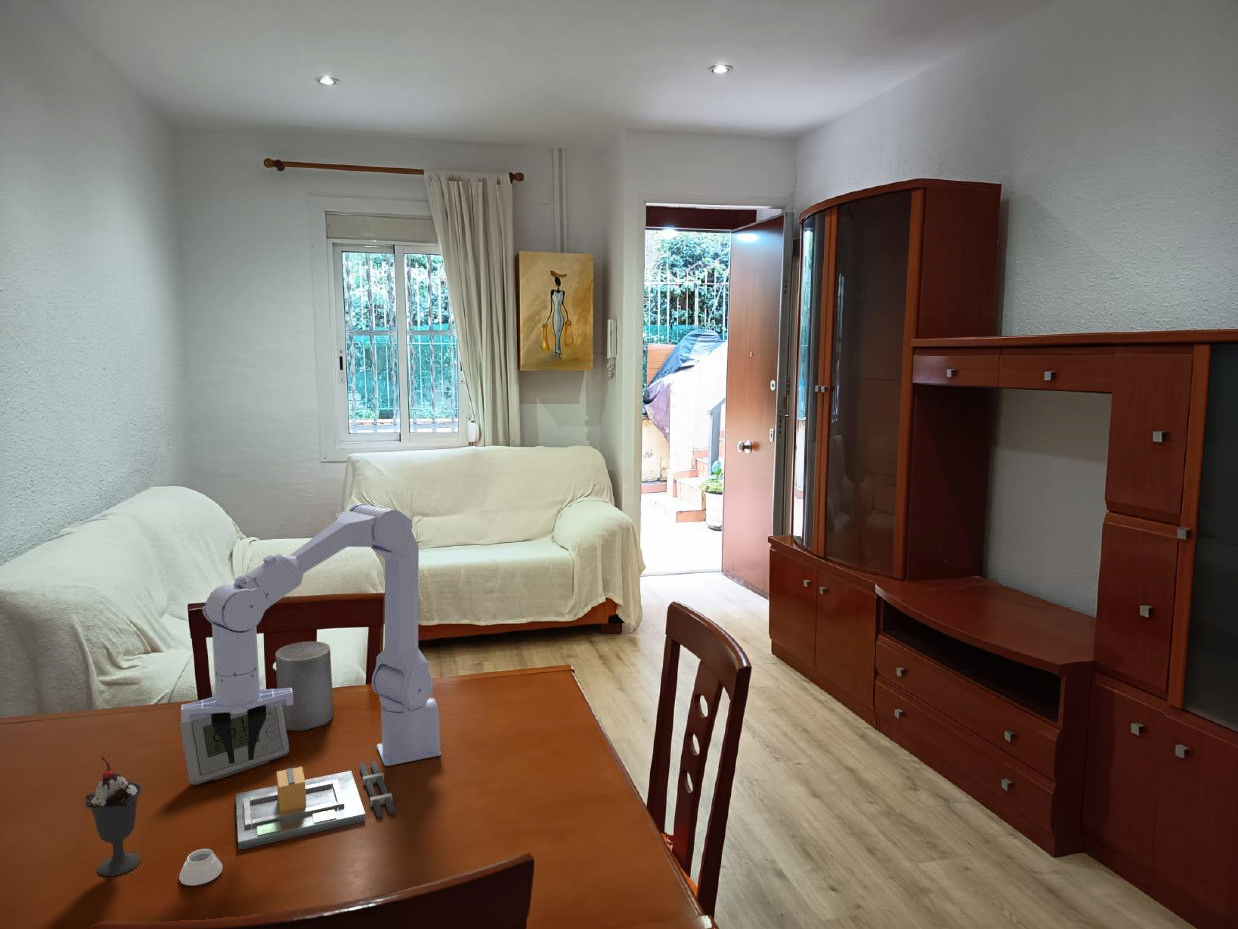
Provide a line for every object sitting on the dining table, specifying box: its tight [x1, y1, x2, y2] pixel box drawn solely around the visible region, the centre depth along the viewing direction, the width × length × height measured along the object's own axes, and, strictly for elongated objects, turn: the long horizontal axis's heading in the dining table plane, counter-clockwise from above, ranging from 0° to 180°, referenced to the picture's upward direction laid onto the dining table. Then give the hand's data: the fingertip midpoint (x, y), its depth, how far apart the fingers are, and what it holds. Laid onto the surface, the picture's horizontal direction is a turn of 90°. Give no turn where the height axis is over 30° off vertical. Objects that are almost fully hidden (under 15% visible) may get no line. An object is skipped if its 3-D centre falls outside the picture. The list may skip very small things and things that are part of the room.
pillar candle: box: [275, 640, 334, 732], centre depth 154 cm, size 10×10×15 cm
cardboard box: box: [276, 766, 306, 814], centre depth 123 cm, size 4×5×5 cm
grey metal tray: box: [235, 770, 366, 851], centre depth 124 cm, size 17×14×2 cm
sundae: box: [83, 755, 144, 877], centre depth 109 cm, size 7×7×15 cm
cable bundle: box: [359, 760, 396, 819], centre depth 130 cm, size 3×16×1 cm, turn 26°
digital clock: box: [179, 705, 290, 786], centre depth 137 cm, size 16×9×11 cm, turn 123°
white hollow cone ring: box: [178, 848, 223, 886], centre depth 108 cm, size 5×3×5 cm
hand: (241, 759), depth 119 cm, fingers closed
